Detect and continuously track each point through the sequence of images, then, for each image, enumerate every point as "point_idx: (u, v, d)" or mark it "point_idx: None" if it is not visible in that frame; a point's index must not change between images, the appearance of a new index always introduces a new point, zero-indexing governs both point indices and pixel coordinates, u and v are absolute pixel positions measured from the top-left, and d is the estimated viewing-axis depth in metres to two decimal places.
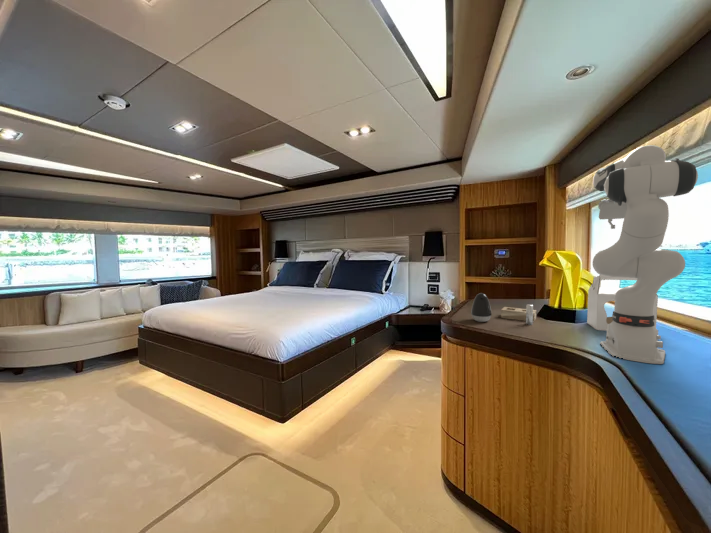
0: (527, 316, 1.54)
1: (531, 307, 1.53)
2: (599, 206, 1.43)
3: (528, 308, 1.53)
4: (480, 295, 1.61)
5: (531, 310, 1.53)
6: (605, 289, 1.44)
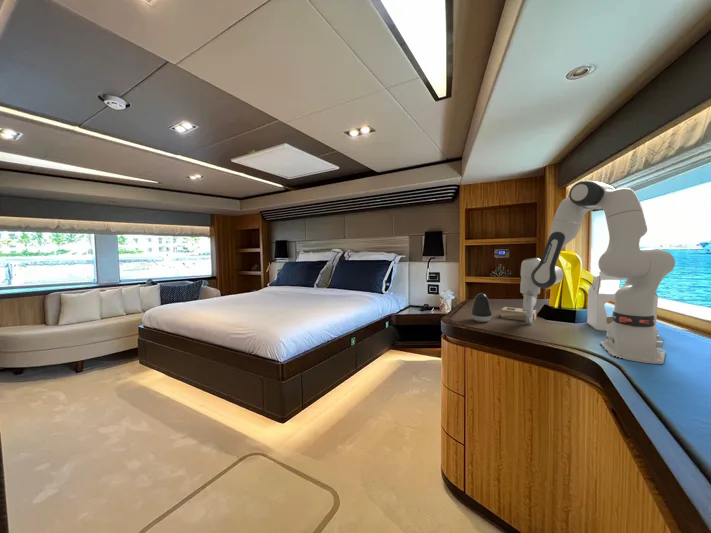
0: None
1: None
2: (527, 298, 1.46)
3: None
4: (480, 295, 1.61)
5: (531, 310, 1.53)
6: (605, 289, 1.44)
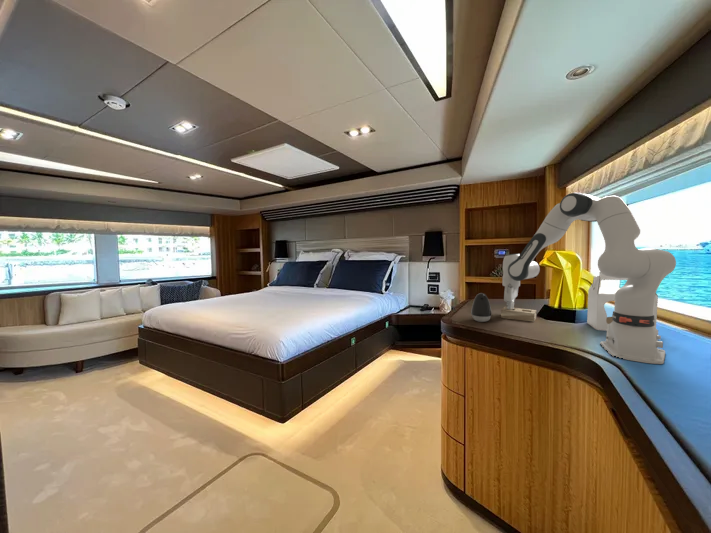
0: (508, 309, 1.69)
1: (512, 301, 1.68)
2: (508, 290, 1.61)
3: None
4: (480, 295, 1.61)
5: (512, 304, 1.68)
6: (605, 289, 1.44)
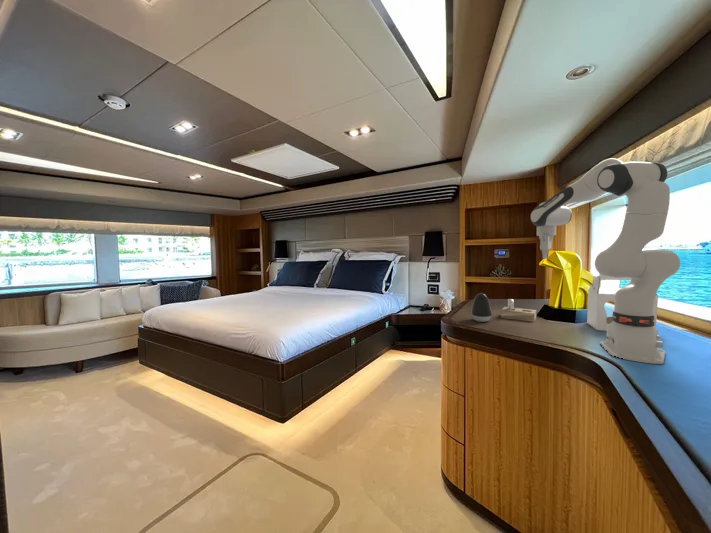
0: (508, 309, 1.69)
1: (512, 301, 1.68)
2: (544, 238, 1.54)
3: (509, 302, 1.68)
4: (480, 295, 1.61)
5: (512, 304, 1.68)
6: (605, 289, 1.44)
